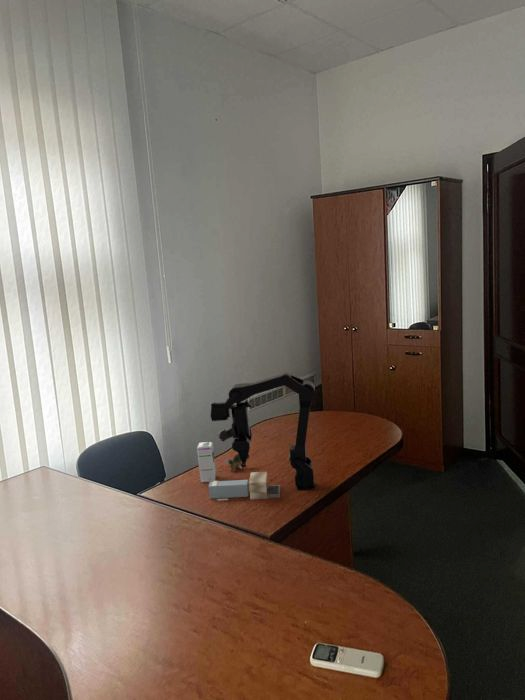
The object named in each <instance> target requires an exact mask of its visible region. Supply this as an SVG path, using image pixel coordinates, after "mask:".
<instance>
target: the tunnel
mask: <svg viewBox="0 0 525 700" xmlns="http://www.w3.org/2000/svg"><path fill="white" fill-rule="evenodd" d="M268 483H269V482H268V471H256V472H255V471H254V472H253V471H252V472H250V476H249V480H248V486H249V500H266V499H268V498H267V493H268V486H269V484H268Z"/></svg>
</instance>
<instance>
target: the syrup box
mask: <svg viewBox="0 0 525 700" xmlns="http://www.w3.org/2000/svg"><path fill="white" fill-rule="evenodd" d="M196 451H197V459H198V470H199V471H198V472H199V478H200V483H210V482H213V481H216V479H217V467H216V459H215V452H214V451H215V449H214V443H213V441H205V442H204V441H203V442H198V445H197V447H196Z"/></svg>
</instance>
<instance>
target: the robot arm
mask: <svg viewBox="0 0 525 700" xmlns="http://www.w3.org/2000/svg"><path fill="white" fill-rule="evenodd" d="M283 386H285V387H287V388H288V389H290V390H291V391H292V392H294V393H296V394H298V403H299V409H298V420H297V428H296V436H295V442H294V445H293V444H290V445H289V447H290V448H289V455H288V461H289V462H290V466H291V468H293V469H294V470H295V471H296V472H295V473H294V483H295V487H296V490H297V491H302V490H315V488H316V486H315V479H314V477H315V476H314V468H313V460H312V459H311V458H309V456H307V447H306V439H307V435H308V434H307V432H308V426H309V425H308V424H309V416H310V409H311V407H312V403H313V400H314V397H315V394H316V392H315V391H316V389H315V384H314V383H313V381H310V380H309V379H308V380H304V379H303V378H300V377H297V376H295V375H292V374H290V373H288V372H284V373H282V374H278V375H275V376H272V377H268V378H265V379H262V380H261V379H260V380H258V381H255V382H249V383H248V382H244V383H236V384H234V385H232V387H231V388H230V390H229V392H228V398H227V399H226V400H225V402H224V401H223V402H211V405H210V406H211V407H210V419H211V421H212V422H222V421H223V422H224V421H229V418H231V420H232V424H231V425H229V426H226V427H223V429H220V430H219V431H218V438H219V439H220V441H221V442H226V440H228V439H231V438H232V439H233V440H232V443H231V447H232V448H231V449H232V450H233V451H234V452H236V453H237V454H239V456H240V459H241V461H242V462H241V463H242V464H246V463H247V461H248V459H247V457H248V454H250V453H249V452H250V449H251V441H252V437H253V428H252V427H251V426H250V424H249V423H250V420H249V416H248V415H249V414H248V408H251V407H252V405H253V403H252V402H251V401H249V400H248V399H250V398H251V397H253V396H255V395H258V394H260V393H264V392H267V391H270V390H274V389H277V388H280V387H281V388H282V387H283ZM242 464H241V465H242Z"/></svg>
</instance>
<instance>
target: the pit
mask: <svg viewBox="0 0 525 700" xmlns="http://www.w3.org/2000/svg"><path fill="white" fill-rule="evenodd" d="M271 498H273V499H274V498H281V484H274V485H273V484H272V485H270V484H268V489H267V499H271Z"/></svg>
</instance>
